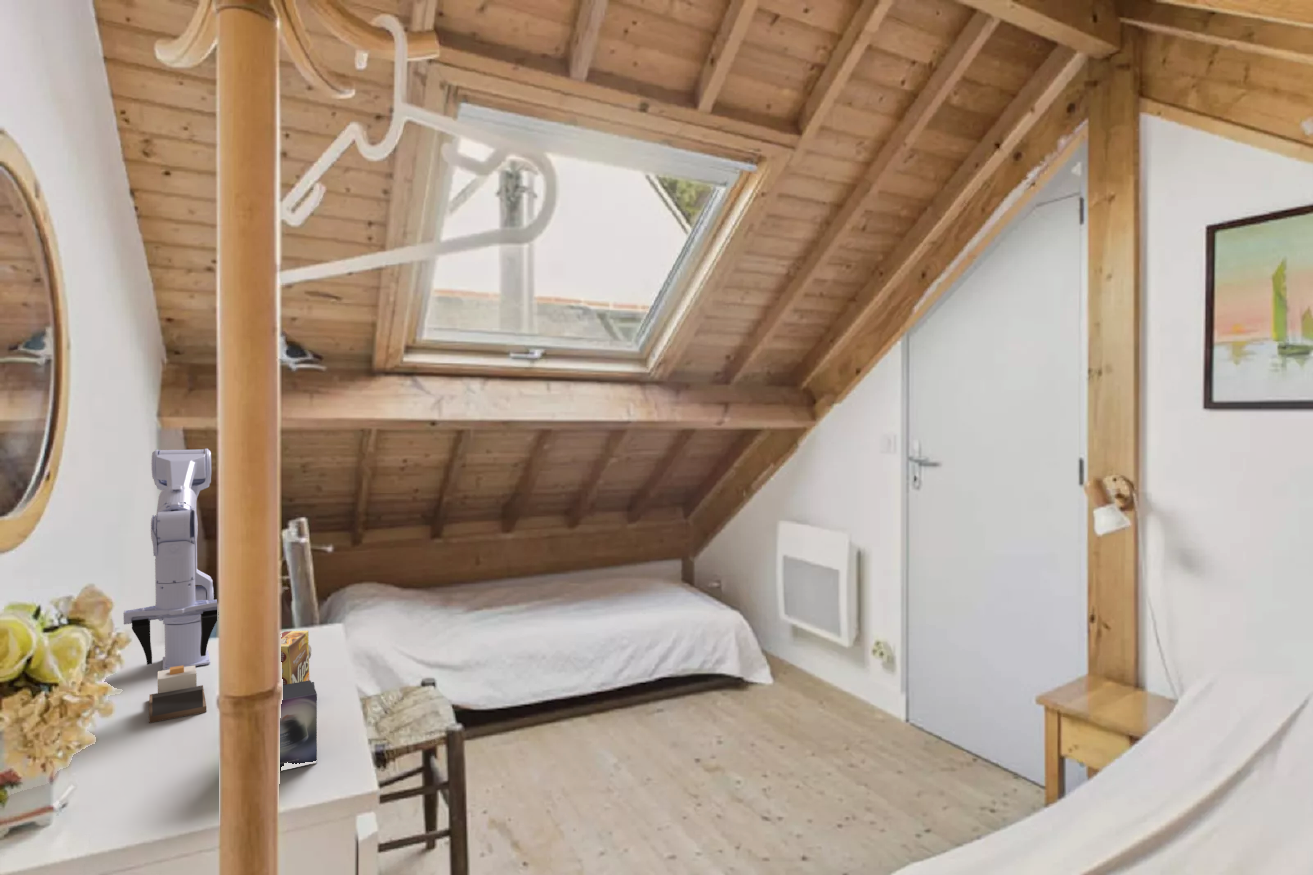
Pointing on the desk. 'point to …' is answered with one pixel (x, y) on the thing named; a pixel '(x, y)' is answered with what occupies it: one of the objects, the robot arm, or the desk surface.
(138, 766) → the desk surface
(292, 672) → the candy box
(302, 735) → the small box
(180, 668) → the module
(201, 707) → the board
